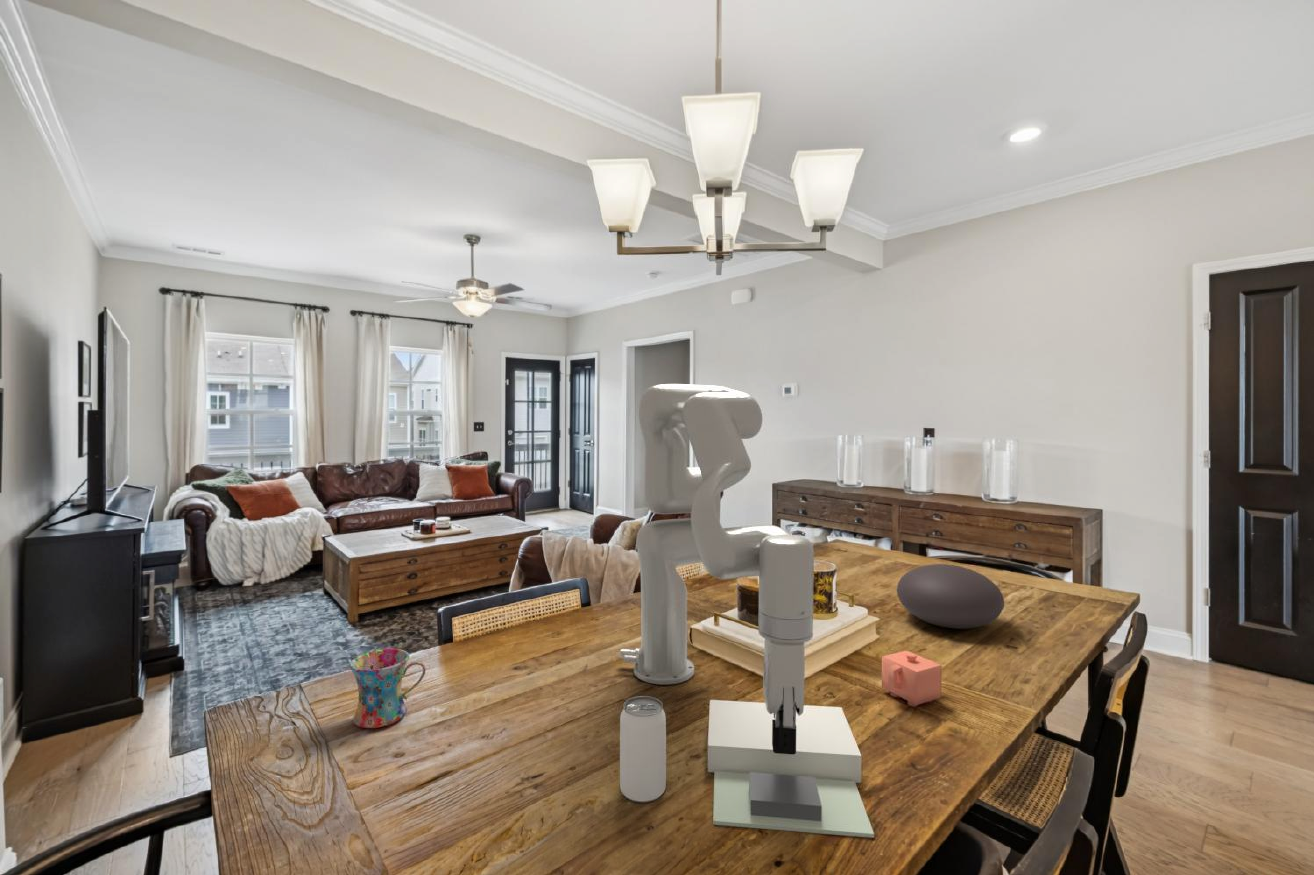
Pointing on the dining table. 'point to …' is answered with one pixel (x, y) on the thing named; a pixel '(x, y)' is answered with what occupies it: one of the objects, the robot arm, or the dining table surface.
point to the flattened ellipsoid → (950, 596)
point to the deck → (748, 742)
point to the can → (642, 749)
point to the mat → (838, 818)
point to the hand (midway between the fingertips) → (783, 750)
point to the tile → (784, 796)
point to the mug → (381, 686)
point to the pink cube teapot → (911, 677)
